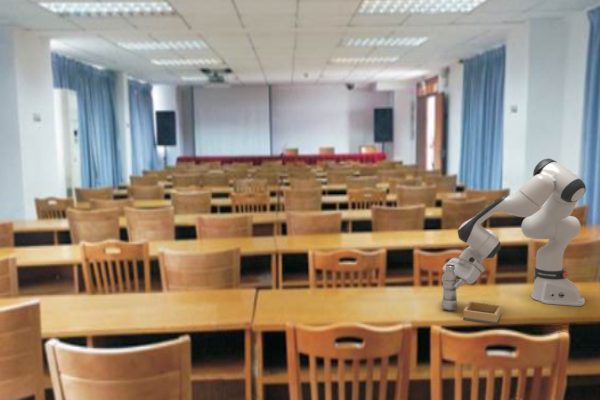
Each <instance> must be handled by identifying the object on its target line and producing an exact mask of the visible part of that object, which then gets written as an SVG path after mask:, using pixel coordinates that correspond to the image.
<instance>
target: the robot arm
mask: <svg viewBox="0 0 600 400" xmlns="http://www.w3.org/2000/svg"><path fill="white" fill-rule="evenodd" d="M532 174H533V175H532V176H533V177H531V178H530V179H528V180H527V181H526V182H525V183H524V184H523V185H521V186H520V188H518V190H517V191H516V192H514V193H512V194H510V195H505V194H504V195H501V196H499V197H498V198H496V199H495V200H493V201H492V202H491V203H489V204H488V205H487V206H485V207H484V208H483V209H482V210H480V211H478V212H477V213H476V214H475V215H474V216H472V217H471V218H470V219H467V220H466V221H464V222H463V223H462V224H460V226H459V227H458V229H457V236H458V239H459V240H461V241H462V243H463V242H464V244H466V245H468V247H466V248H465V249H464V250H463V251H462V252H461V254H460V255H459V256H456V257H452V258H450V259H449V260H448V261H447V262H446V263H445V264H444V265H443V266H442V271H443V272H445V271H446V265H447V264H452V265H455V270H454V271H455V273H456V276H457V277H458V281H457V283H455V284H454V285H453V287H454V288H456V290H458V289H459V288H460V287H461V286H463V285H465V283H466V284H469V285H472V284H474V283H475V282H476V281H477V280H478V279H479V277H481V276H480V275H481V274H483V272H485V267H484V266H483V265H482V262H483V261H484V259H493V258H494V257H495V256H496V255H497V254H498V252H499V251H500V250H501V249H502V247H501V246H502V245H501V241H500V240H499V236H498V234H497V233H496V232H495V231H493V230H491V229H487V228H485V227H483V226H482V223H483V222H485V221H486V220H488V219H489V218H490V217H491V216H492V215H494V214H495V213H500V212H501V213H507V214H509V215H512V216H515V217H520V218H523V220H522V222H521V225H520V227H521V229H520V230H521V232H522V234H523V235H524V236H525V237H526V238H528V239H532V240H548V241H547V243H545V244H544V245H543V246H541V247H539V248H538V250H537V251H536V257H535V267H534V271H533V272H534V273H533V278H534V283H533V289H532V291H531V293H530V294H531V295H530V297H531V298H532V299H533V300H536V301H538V302H540V303H542V304H547V305H557V306H569V307H571V306H572V307H573V306H574V307H581V306H584V305H585V303H586V300H585V298H584V297H583V296H581V295H580V289H579V288H578V286H577V285H576V284H575V283H574V282H572V281H571V280H570V279H568V278H567V277H568V271H567V270H566V269H563V261H564V255H565V250H566V248H567V247H568V245H569V243H570V242H571V241H572V240H573V239H574V238H576V237H577V236H578V235H579V234H580V233H581V228H582V226H581V222H580V221H579V219H578V218H577V217H575V216H573V215H572V214H573V211H574V210H575V207H576V205H577V203H578V201H579V200H580V199H581V198H582V197H584V195H585V193H586V190H587V188H586V187H587V186H586V184H585V182H584V181H583V180H582V178H581V177H580V176H579V175H577V174H575V173H573V172H572V171H571V170H570V169H568V168H567V167H565V166H563V165H562V164H561V163H558V162H557V161H556V160H554V159H552V158H545V159H542V160H540V161H539V162H538V163H537V164H536V165H535V167H534V169H533V173H532ZM571 215H572V216H571ZM441 282H442V283H443V280H442V279H441Z"/></svg>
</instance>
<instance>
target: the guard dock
mask: <svg viewBox="0 0 600 400" xmlns="http://www.w3.org/2000/svg"><path fill="white" fill-rule="evenodd" d="M462 313H463V315H462V316H463V317H462V319H463V320H464V321H470V322H476V323H477V322H478V323H485V324H491V325H497V324H498V322H499V320H500V318H501V316H502V305H498V304H489V303H482V302H474V301H469V302H468V304H466V306H465V307H464V309H463V312H462Z"/></svg>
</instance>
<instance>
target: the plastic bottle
mask: <svg viewBox="0 0 600 400" xmlns="http://www.w3.org/2000/svg"><path fill="white" fill-rule="evenodd" d="M454 270H455V265H452V264H447V265H446V271H445V272H444V271H443V272H444V273H443V274H442V275H441V277H442V278H441V280H443V282H442V287H443V289H442V290H443V291H442V293H443V295H442V301H441V307H442V309H444V310H445V311H449V312H450V311H451V312H452V311H456V310H457V308H458V298H457V289H456V288H454V287H453V285H454V284H455V283H457V282H459V279H458V277H457V276H456V273H455V271H454Z"/></svg>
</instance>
